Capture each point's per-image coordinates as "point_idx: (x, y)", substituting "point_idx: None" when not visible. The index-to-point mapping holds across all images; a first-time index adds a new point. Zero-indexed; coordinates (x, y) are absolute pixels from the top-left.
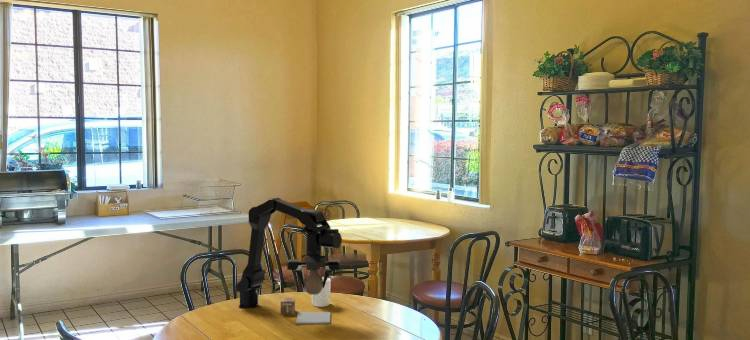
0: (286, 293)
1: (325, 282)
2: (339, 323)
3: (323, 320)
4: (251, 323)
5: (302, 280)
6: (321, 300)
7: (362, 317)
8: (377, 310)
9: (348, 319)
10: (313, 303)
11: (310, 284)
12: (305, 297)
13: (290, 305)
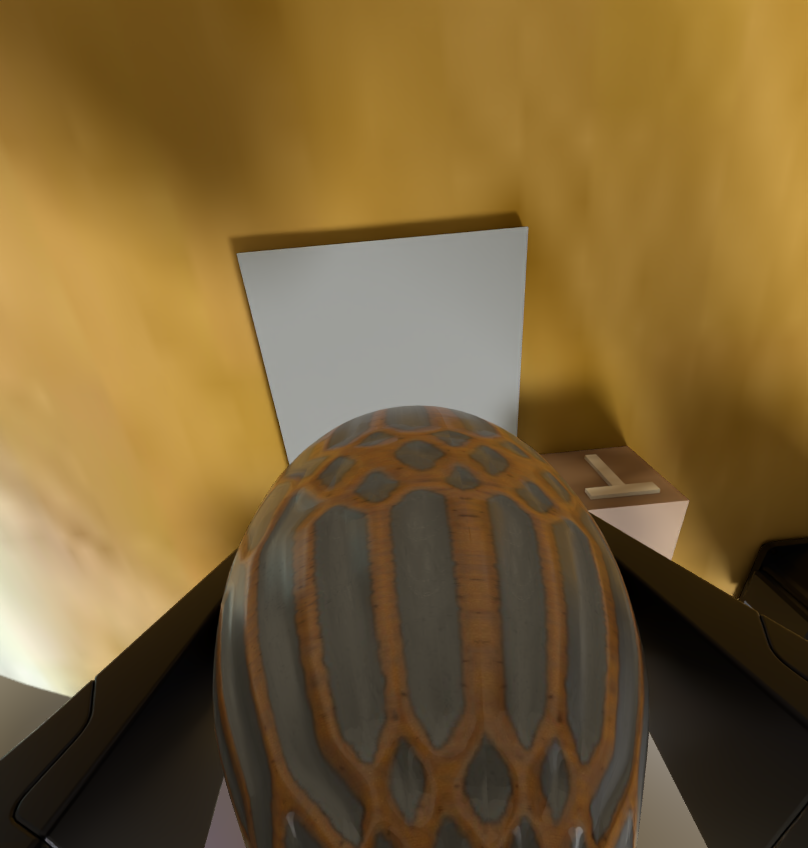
0: None
1: (164, 616)
2: (166, 275)
3: (303, 300)
4: None
5: (693, 600)
6: None
7: (44, 432)
8: (12, 566)
9: (130, 380)
10: None
11: (481, 460)
12: None
13: (592, 487)
